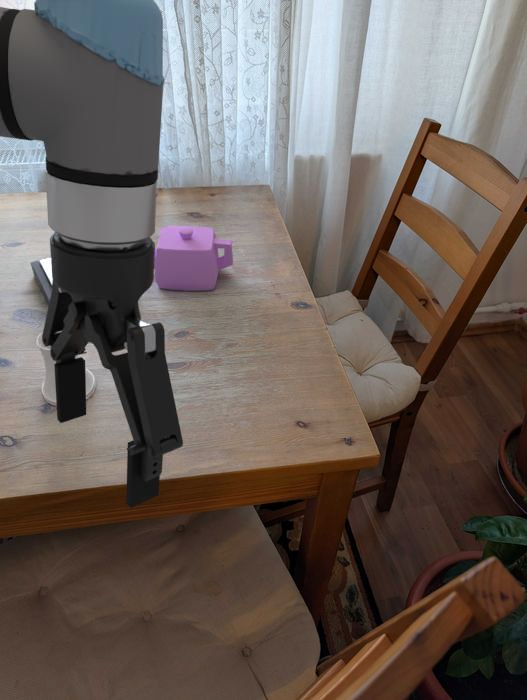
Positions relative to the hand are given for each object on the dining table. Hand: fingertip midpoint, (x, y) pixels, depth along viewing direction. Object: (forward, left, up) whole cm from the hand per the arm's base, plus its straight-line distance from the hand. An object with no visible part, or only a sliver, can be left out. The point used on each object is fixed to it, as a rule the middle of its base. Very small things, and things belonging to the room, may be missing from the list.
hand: (104, 455), depth 49 cm
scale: (+11, +53, -17) cm, 57 cm away
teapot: (+29, +47, -18) cm, 58 cm away
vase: (+1, +28, -18) cm, 33 cm away
